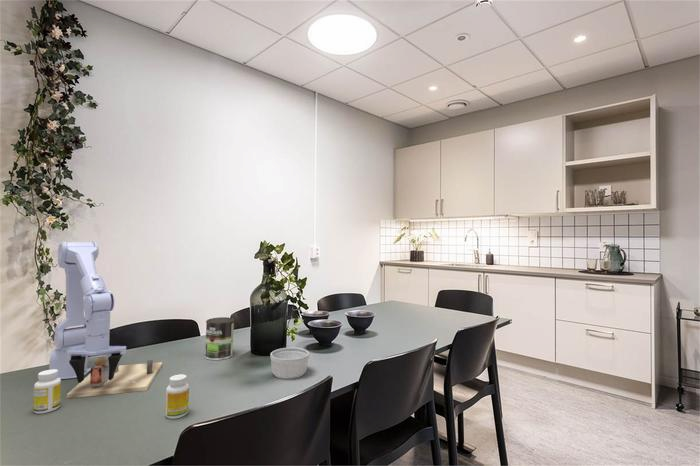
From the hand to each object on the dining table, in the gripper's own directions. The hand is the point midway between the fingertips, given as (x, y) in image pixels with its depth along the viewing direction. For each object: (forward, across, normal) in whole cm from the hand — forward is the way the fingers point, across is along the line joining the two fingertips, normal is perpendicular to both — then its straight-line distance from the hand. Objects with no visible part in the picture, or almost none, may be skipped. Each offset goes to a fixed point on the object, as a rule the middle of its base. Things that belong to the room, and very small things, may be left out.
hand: (96, 380), depth 103 cm
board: (+3, +4, +8) cm, 10 cm away
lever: (+2, 0, +7) cm, 7 cm away
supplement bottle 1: (+4, -8, -9) cm, 13 cm away
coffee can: (+4, +33, +25) cm, 42 cm away
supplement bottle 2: (+4, +25, -21) cm, 33 cm away
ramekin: (+4, +57, 0) cm, 57 cm away
